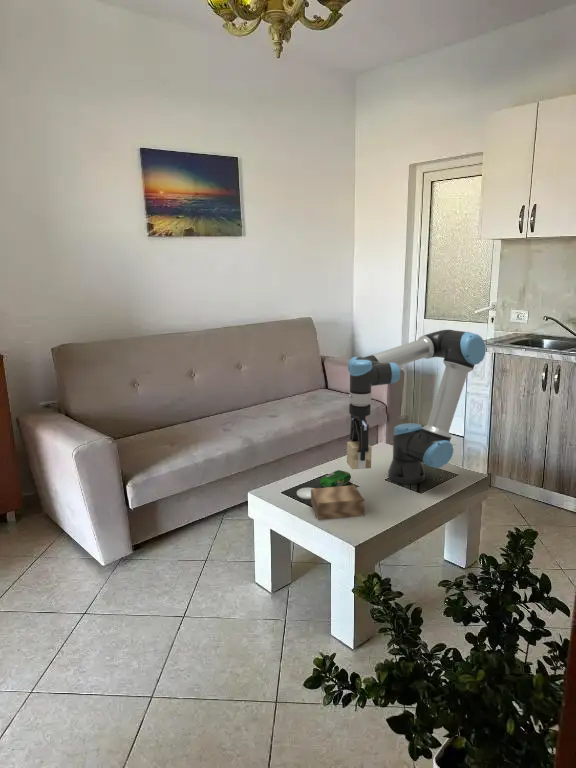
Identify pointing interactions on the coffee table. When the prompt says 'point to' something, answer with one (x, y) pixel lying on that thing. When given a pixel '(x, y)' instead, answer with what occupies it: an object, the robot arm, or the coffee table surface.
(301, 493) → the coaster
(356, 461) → the oak block
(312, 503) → the walnut box
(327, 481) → the green toy car
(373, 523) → the coffee table surface
